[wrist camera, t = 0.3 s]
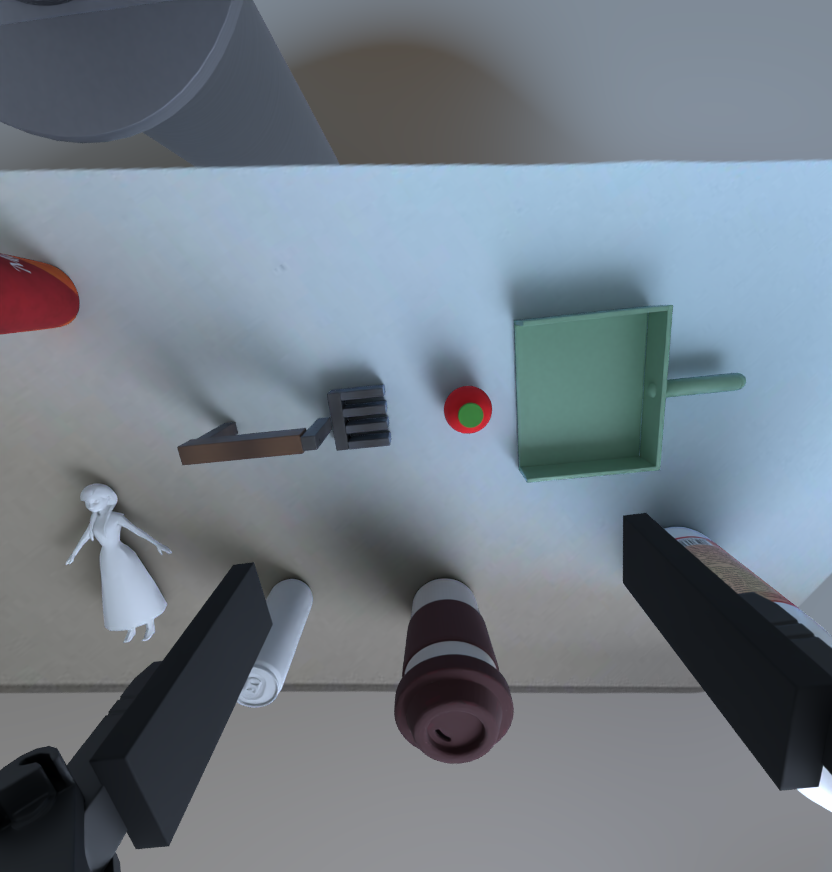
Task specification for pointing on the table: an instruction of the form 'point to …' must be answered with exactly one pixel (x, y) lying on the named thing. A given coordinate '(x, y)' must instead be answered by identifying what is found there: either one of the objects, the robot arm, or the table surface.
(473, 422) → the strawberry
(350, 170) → the table surface
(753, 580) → the fruit juice
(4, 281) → the paper cup
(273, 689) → the beverage can
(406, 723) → the coffee cup
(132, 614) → the woman figurine
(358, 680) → the table surface
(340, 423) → the fork
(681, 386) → the green dustpan
